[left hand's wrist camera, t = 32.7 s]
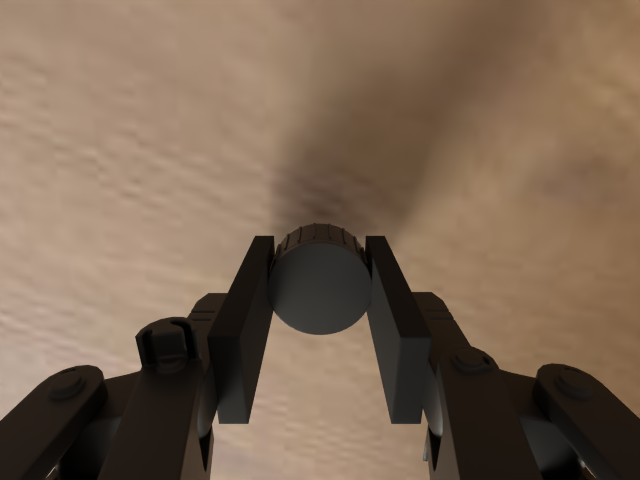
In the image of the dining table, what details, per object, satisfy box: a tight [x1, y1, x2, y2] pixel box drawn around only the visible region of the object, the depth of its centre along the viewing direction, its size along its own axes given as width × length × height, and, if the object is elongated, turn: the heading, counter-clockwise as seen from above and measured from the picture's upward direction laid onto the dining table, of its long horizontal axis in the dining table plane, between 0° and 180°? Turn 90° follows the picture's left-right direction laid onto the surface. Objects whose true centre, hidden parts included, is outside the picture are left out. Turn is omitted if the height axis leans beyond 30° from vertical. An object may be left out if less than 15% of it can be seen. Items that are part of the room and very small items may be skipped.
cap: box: [268, 223, 372, 335], centre depth 13 cm, size 4×4×2 cm
